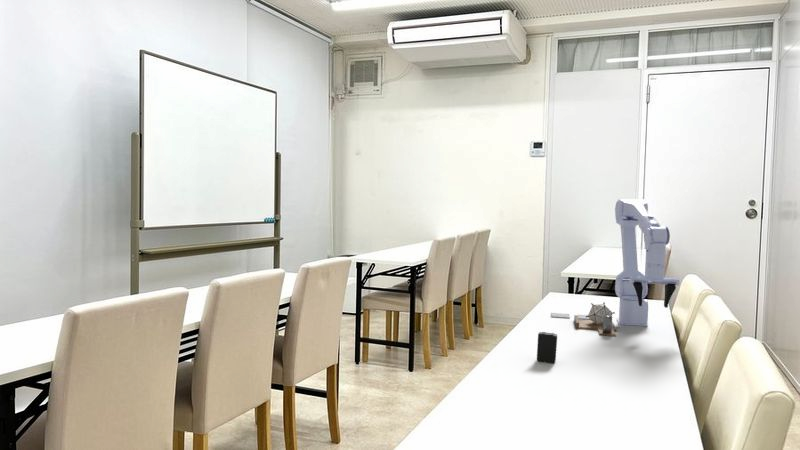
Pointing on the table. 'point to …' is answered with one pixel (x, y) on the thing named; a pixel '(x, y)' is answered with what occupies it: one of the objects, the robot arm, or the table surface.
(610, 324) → the brown base with post
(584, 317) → the broken grey strip
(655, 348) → the table surface
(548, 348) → the ink cartridge
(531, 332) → the table surface
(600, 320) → the game die
